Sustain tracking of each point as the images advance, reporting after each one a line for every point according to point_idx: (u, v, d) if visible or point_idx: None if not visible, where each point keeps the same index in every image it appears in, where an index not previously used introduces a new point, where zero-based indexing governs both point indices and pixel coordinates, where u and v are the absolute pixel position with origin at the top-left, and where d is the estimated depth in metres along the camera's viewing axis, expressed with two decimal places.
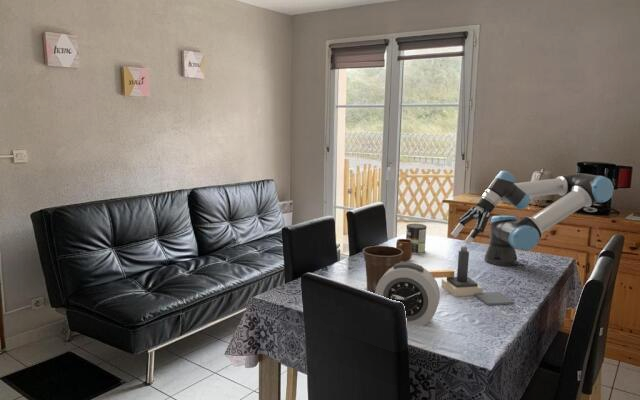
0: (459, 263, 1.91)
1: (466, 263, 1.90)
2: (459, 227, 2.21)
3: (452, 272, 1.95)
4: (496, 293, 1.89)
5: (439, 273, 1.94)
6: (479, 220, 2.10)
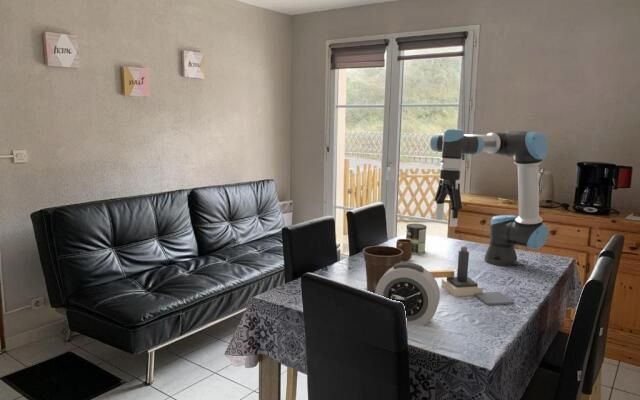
0: (459, 263, 1.91)
1: (466, 263, 1.90)
2: (439, 208, 1.93)
3: (452, 272, 1.95)
4: (496, 293, 1.89)
5: (439, 273, 1.94)
6: (452, 195, 1.81)
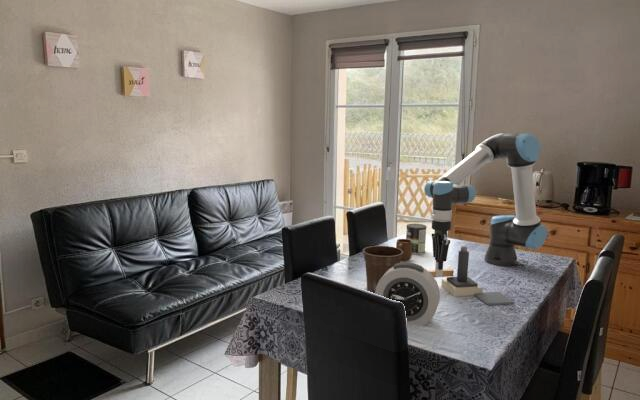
0: (459, 263, 1.91)
1: (466, 263, 1.90)
2: None
3: (451, 271, 1.96)
4: (496, 293, 1.89)
5: None
6: (440, 248, 1.91)
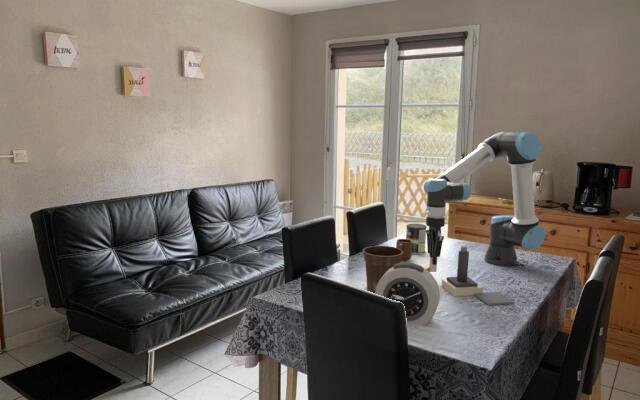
0: (459, 263, 1.91)
1: (466, 263, 1.90)
2: None
3: None
4: (496, 293, 1.89)
5: None
6: (434, 244, 1.97)
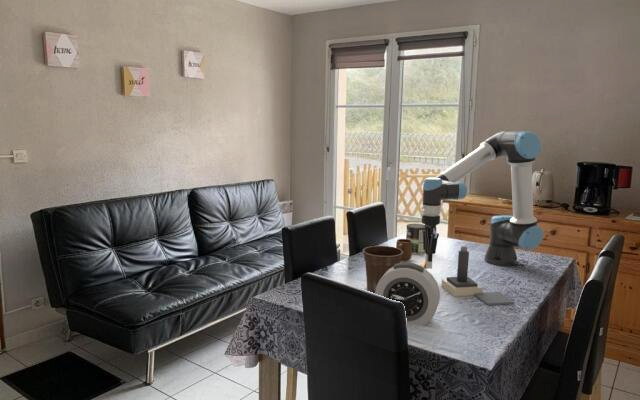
0: (459, 263, 1.91)
1: (466, 263, 1.90)
2: None
3: None
4: (496, 293, 1.89)
5: (423, 267, 2.02)
6: (430, 241, 2.01)
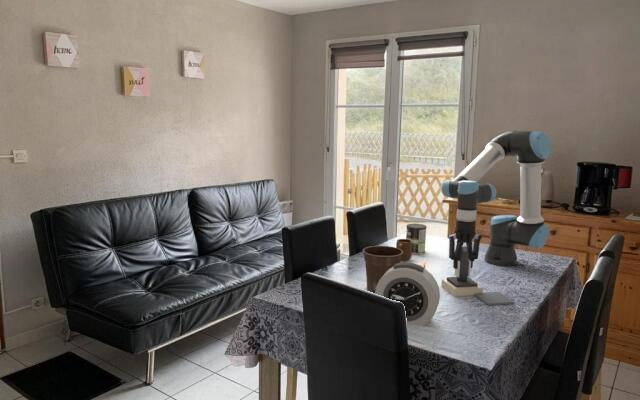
0: None
1: (466, 263, 1.90)
2: None
3: (425, 263, 2.07)
4: (496, 293, 1.89)
5: (423, 267, 2.02)
6: (456, 246, 1.91)
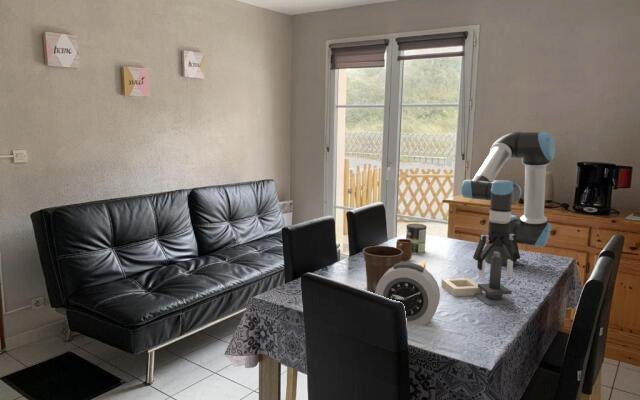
0: (492, 269, 1.82)
1: (499, 269, 1.81)
2: (508, 264, 1.83)
3: (425, 263, 2.07)
4: None
5: (423, 267, 2.02)
6: (485, 247, 1.81)
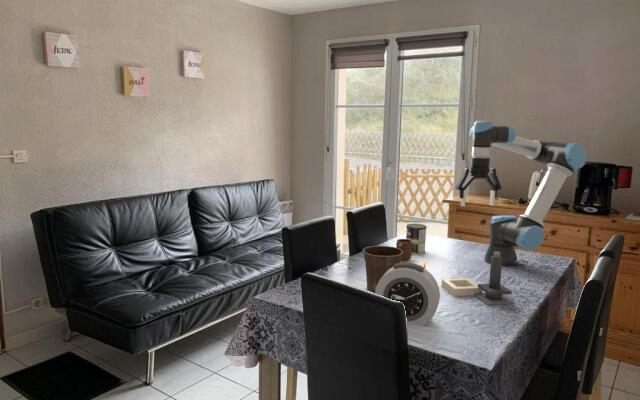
0: (492, 269, 1.82)
1: (499, 269, 1.81)
2: (491, 194, 2.09)
3: (425, 263, 2.07)
4: None
5: (423, 267, 2.02)
6: (468, 179, 2.06)
